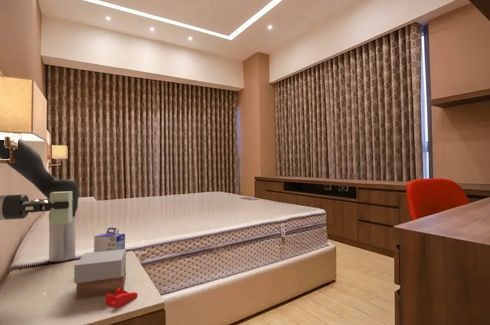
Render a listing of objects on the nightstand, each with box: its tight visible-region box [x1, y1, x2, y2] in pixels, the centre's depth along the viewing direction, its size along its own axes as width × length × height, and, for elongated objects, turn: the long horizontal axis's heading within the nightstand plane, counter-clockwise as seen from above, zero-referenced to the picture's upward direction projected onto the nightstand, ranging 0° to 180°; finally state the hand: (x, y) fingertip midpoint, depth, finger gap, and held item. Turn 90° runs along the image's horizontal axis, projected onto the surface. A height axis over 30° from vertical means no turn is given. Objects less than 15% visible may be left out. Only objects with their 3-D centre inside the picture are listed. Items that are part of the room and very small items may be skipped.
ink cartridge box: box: [93, 227, 126, 252], centre depth 100 cm, size 10×6×14 cm, turn 78°
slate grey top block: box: [73, 248, 127, 284], centre depth 82 cm, size 12×12×5 cm
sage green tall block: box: [49, 191, 72, 225], centre depth 86 cm, size 5×5×10 cm
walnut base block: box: [76, 264, 127, 301], centre depth 82 cm, size 12×12×5 cm
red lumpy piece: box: [104, 288, 138, 309], centre depth 73 cm, size 6×5×3 cm
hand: (70, 203), depth 87 cm, fingers closed on sage green tall block, 5 cm apart
